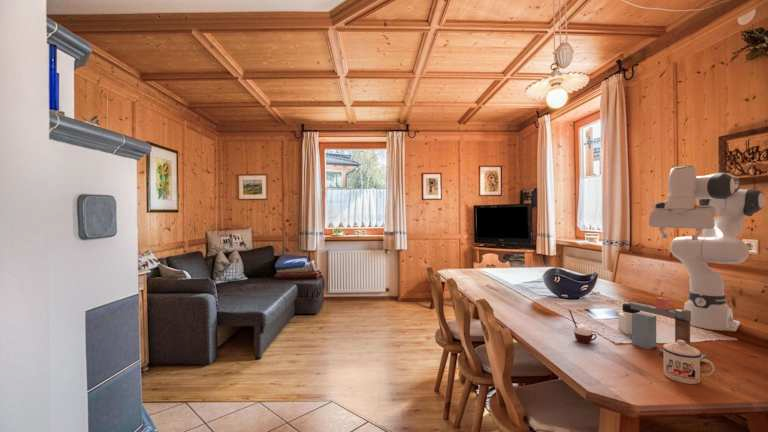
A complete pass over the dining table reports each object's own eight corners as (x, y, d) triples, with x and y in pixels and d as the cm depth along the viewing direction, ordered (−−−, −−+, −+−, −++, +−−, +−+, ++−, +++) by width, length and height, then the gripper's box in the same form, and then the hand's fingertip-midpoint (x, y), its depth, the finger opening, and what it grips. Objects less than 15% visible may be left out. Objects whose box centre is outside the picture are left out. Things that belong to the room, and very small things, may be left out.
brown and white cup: (597, 342, 136) (598, 312, 136) (593, 347, 131) (594, 316, 131) (570, 336, 142) (572, 307, 142) (566, 339, 138) (567, 310, 137)
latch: (635, 306, 136) (635, 291, 136) (693, 319, 120) (693, 302, 120) (629, 308, 134) (629, 293, 134) (687, 322, 118) (687, 304, 118)
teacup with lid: (661, 378, 107) (661, 341, 107) (663, 367, 114) (663, 333, 113) (714, 392, 99) (715, 351, 98) (714, 379, 105) (714, 342, 105)
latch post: (672, 349, 128) (672, 313, 127) (707, 359, 119) (707, 321, 119) (658, 354, 123) (658, 318, 123) (693, 366, 114) (693, 326, 114)
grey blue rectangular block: (639, 341, 135) (639, 311, 135) (656, 346, 130) (656, 315, 130) (631, 344, 133) (631, 314, 133) (648, 349, 128) (648, 318, 128)
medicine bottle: (645, 335, 141) (645, 306, 141) (625, 334, 143) (625, 305, 142) (636, 329, 148) (636, 301, 148) (617, 328, 150) (617, 301, 149)
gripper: (718, 205, 133) (716, 241, 132) (653, 206, 149) (651, 237, 149) (714, 204, 129) (712, 241, 129) (648, 204, 146) (646, 237, 145)
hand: (679, 239), depth 139 cm, fingers open, 8 cm apart
